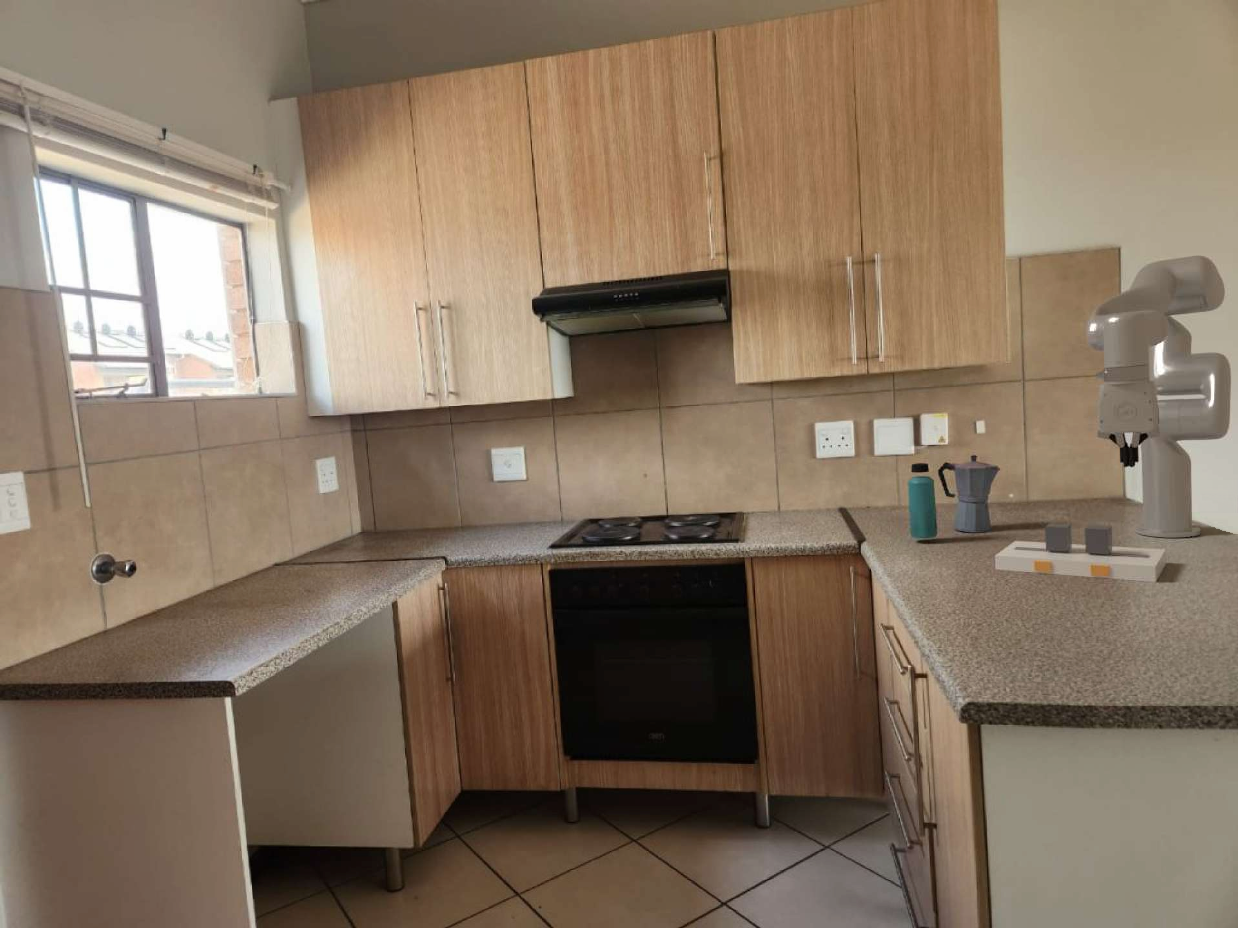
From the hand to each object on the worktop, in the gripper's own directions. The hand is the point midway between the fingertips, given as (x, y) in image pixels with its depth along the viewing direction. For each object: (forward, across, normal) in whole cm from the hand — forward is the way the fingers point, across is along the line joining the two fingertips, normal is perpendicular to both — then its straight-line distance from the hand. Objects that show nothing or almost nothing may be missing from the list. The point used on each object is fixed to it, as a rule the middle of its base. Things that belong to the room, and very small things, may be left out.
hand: (1129, 465), depth 157 cm
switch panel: (+20, -9, -6) cm, 23 cm away
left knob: (+17, -12, -6) cm, 21 cm away
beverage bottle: (+21, -46, +10) cm, 51 cm away
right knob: (+17, -5, -6) cm, 18 cm away
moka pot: (+22, -39, +28) cm, 53 cm away
